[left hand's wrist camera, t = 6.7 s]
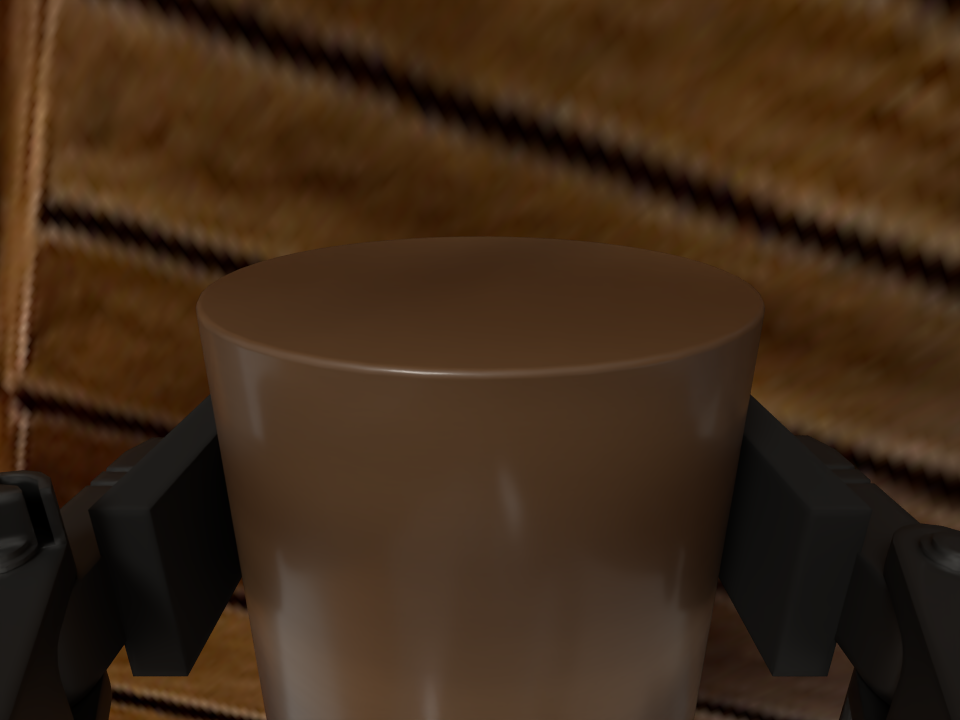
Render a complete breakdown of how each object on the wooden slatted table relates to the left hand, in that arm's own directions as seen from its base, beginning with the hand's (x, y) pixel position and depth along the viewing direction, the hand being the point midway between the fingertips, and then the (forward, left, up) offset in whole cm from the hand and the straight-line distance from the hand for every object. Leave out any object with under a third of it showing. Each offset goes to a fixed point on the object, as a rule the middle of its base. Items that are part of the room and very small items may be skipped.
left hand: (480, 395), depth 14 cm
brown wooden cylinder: (-2, +7, 0) cm, 8 cm away
